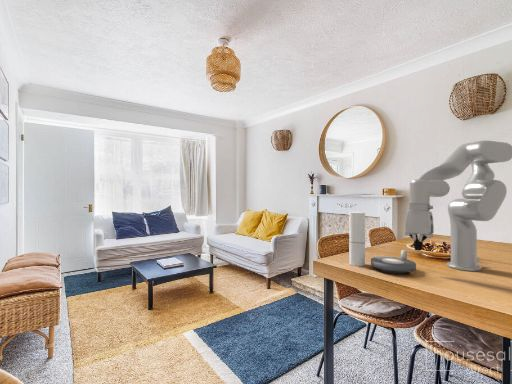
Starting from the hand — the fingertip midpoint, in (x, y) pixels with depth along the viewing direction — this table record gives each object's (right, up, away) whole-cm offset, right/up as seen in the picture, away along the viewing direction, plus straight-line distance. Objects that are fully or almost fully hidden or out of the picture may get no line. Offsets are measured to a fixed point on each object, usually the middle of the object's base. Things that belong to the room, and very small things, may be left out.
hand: (418, 250), depth 117 cm
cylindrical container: (-22, -10, +13) cm, 27 cm away
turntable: (-10, -8, +3) cm, 13 cm away
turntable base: (-10, -10, +3) cm, 14 cm away
